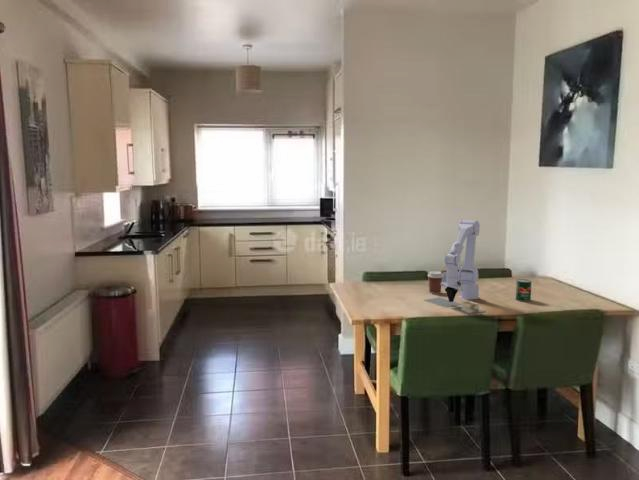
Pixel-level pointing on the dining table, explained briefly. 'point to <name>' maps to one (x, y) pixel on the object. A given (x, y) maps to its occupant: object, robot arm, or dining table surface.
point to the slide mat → (451, 305)
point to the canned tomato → (523, 290)
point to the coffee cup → (435, 282)
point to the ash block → (469, 307)
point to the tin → (445, 276)
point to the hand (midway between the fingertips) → (451, 301)
